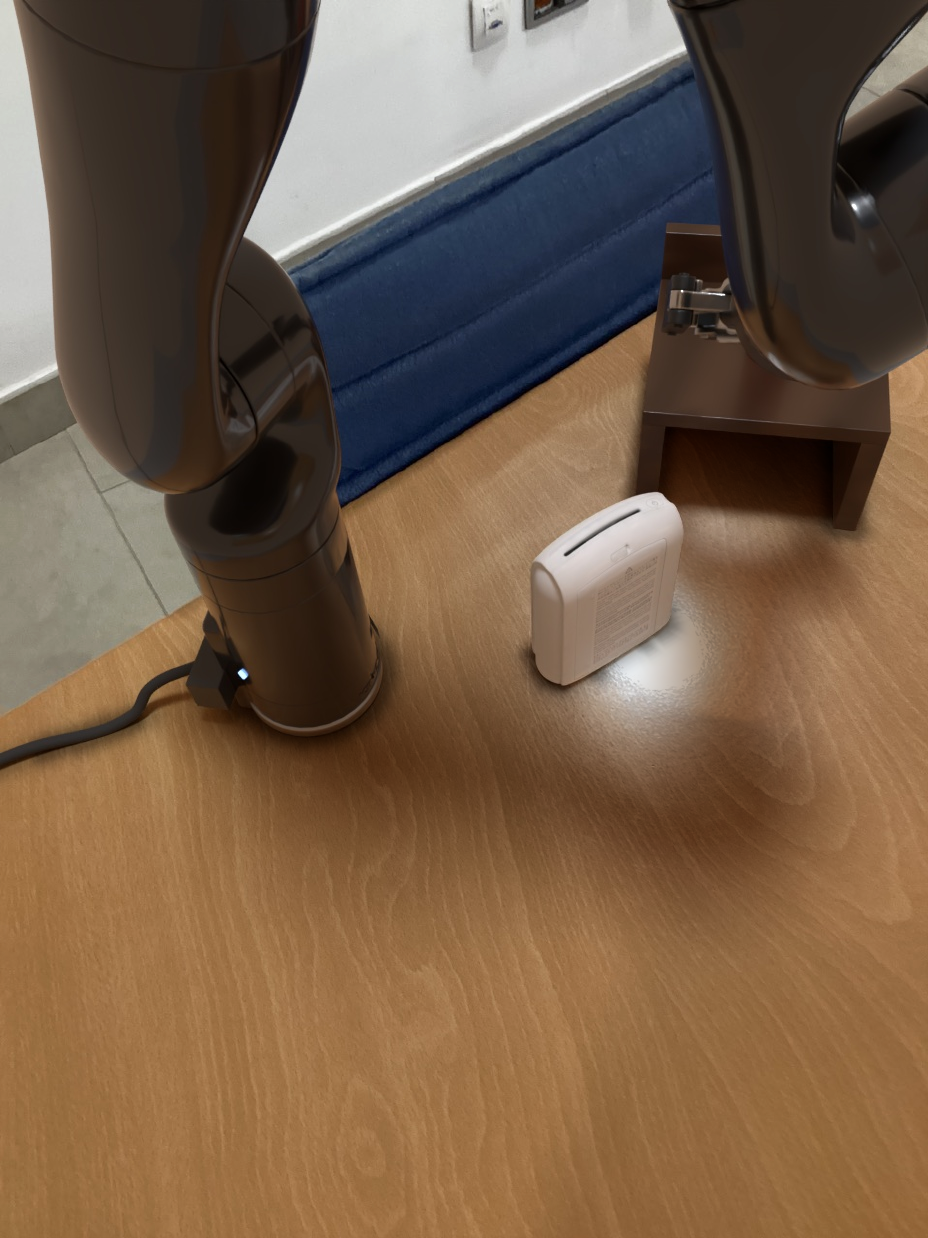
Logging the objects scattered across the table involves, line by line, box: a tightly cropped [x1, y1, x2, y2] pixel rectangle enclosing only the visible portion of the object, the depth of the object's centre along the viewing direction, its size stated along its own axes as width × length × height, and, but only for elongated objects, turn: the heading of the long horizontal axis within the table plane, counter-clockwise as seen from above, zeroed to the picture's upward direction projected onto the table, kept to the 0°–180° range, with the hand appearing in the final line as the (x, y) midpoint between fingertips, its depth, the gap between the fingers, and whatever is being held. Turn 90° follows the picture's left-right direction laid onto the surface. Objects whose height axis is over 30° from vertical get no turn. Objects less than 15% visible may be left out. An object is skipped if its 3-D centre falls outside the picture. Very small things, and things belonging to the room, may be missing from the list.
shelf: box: [634, 222, 892, 531], centre depth 77 cm, size 16×15×14 cm
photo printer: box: [529, 491, 685, 686], centre depth 68 cm, size 10×4×12 cm, turn 123°
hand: (784, 326), depth 63 cm, fingers open, 8 cm apart
